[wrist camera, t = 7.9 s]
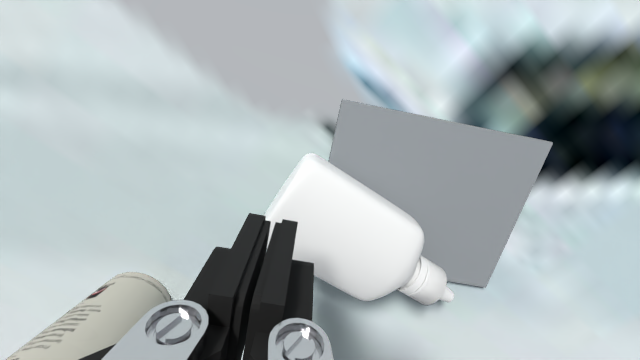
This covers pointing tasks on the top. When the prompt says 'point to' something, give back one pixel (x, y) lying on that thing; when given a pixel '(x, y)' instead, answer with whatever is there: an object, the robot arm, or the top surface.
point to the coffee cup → (97, 319)
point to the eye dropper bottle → (355, 235)
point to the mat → (442, 180)
